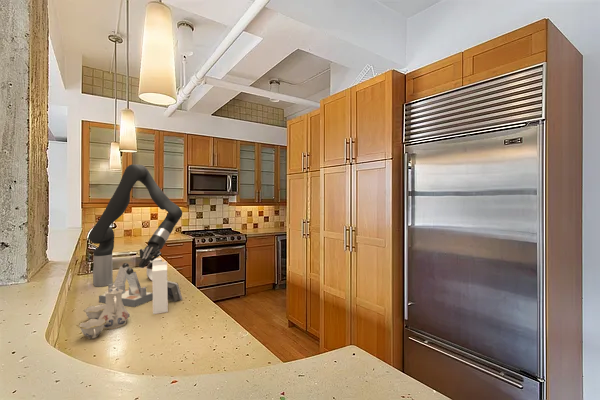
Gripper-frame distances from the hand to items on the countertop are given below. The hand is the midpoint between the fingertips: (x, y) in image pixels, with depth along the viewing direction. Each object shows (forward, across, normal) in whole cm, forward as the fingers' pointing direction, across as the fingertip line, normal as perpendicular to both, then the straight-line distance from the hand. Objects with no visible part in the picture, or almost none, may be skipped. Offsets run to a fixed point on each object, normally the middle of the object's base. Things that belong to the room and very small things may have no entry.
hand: (141, 266), depth 155 cm
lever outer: (+11, 0, +7) cm, 13 cm away
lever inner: (+11, -13, +7) cm, 18 cm away
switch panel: (+13, -6, +10) cm, 18 cm away
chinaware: (+32, +11, -8) cm, 35 cm away
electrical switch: (+8, +14, +15) cm, 23 cm away
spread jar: (-12, -22, +36) cm, 44 cm away
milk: (+18, +19, +6) cm, 27 cm away
